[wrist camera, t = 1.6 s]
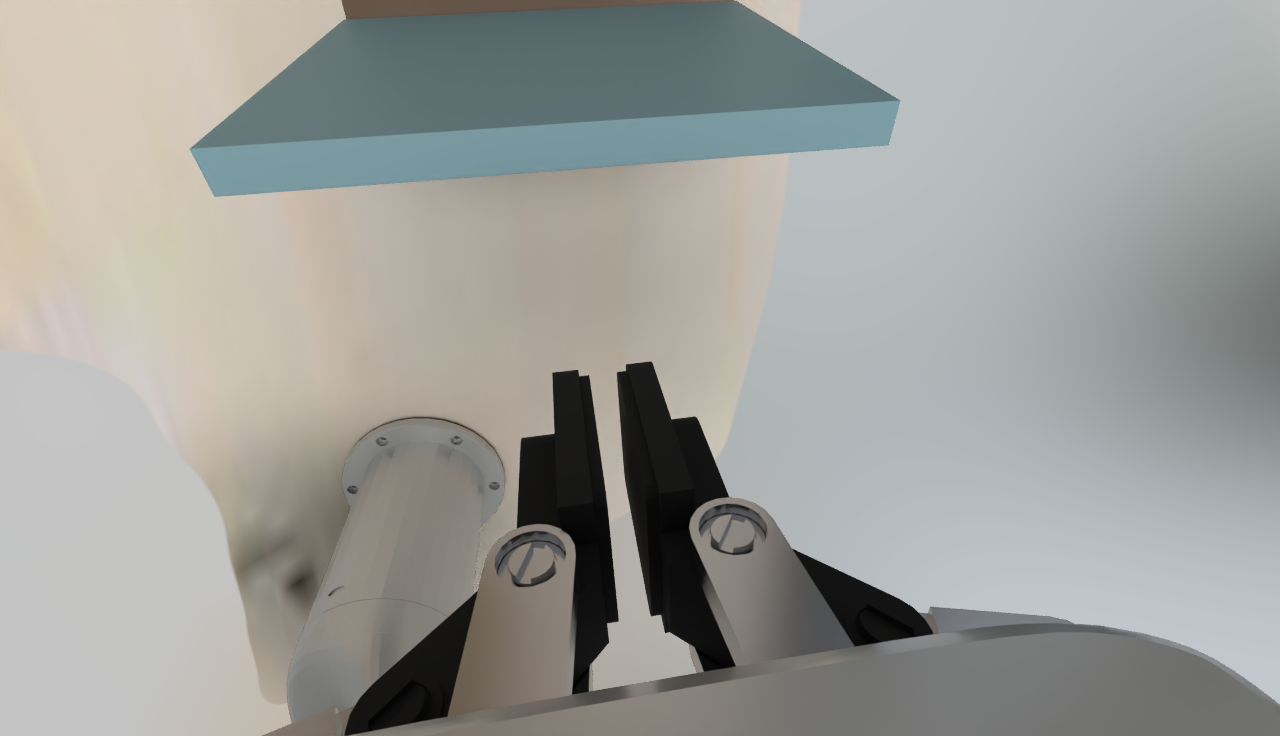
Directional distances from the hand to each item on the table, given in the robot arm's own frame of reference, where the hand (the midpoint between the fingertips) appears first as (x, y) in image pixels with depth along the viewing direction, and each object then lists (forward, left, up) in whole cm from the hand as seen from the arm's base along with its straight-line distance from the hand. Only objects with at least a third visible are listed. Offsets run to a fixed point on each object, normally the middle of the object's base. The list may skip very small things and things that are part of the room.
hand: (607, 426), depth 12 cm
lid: (+5, +4, -14) cm, 15 cm away
